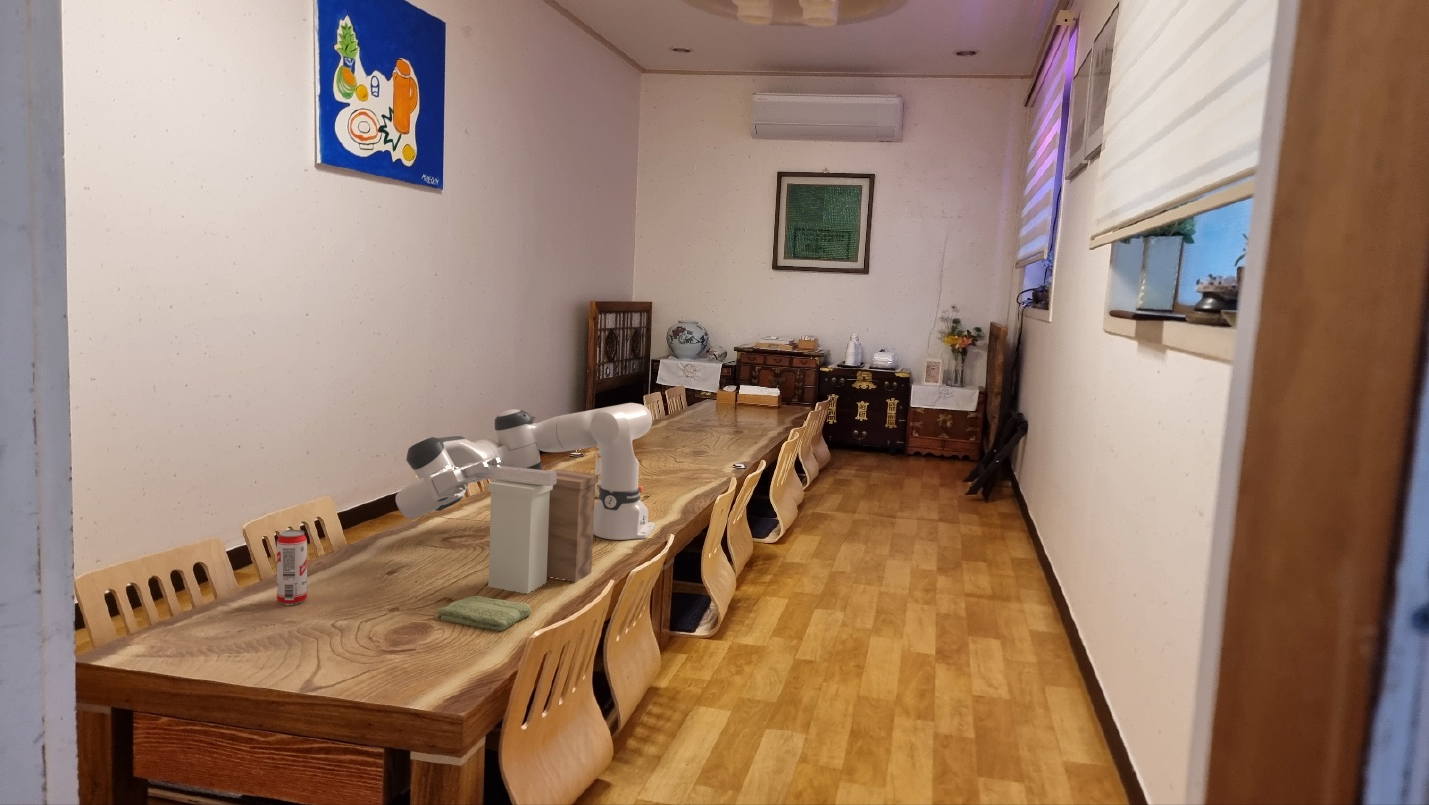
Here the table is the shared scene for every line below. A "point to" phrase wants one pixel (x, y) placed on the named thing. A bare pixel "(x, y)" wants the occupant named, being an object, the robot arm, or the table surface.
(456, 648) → the table surface
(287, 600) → the beer can
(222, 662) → the table surface
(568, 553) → the walnut stand
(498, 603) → the washcloth
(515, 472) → the bar
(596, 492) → the coffeecake box
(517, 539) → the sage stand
